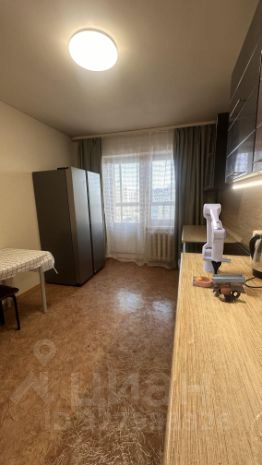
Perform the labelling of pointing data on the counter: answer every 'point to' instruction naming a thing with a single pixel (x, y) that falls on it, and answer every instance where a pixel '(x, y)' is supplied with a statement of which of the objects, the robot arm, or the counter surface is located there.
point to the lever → (229, 278)
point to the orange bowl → (203, 281)
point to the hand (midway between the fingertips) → (215, 273)
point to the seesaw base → (231, 284)
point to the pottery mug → (227, 293)
